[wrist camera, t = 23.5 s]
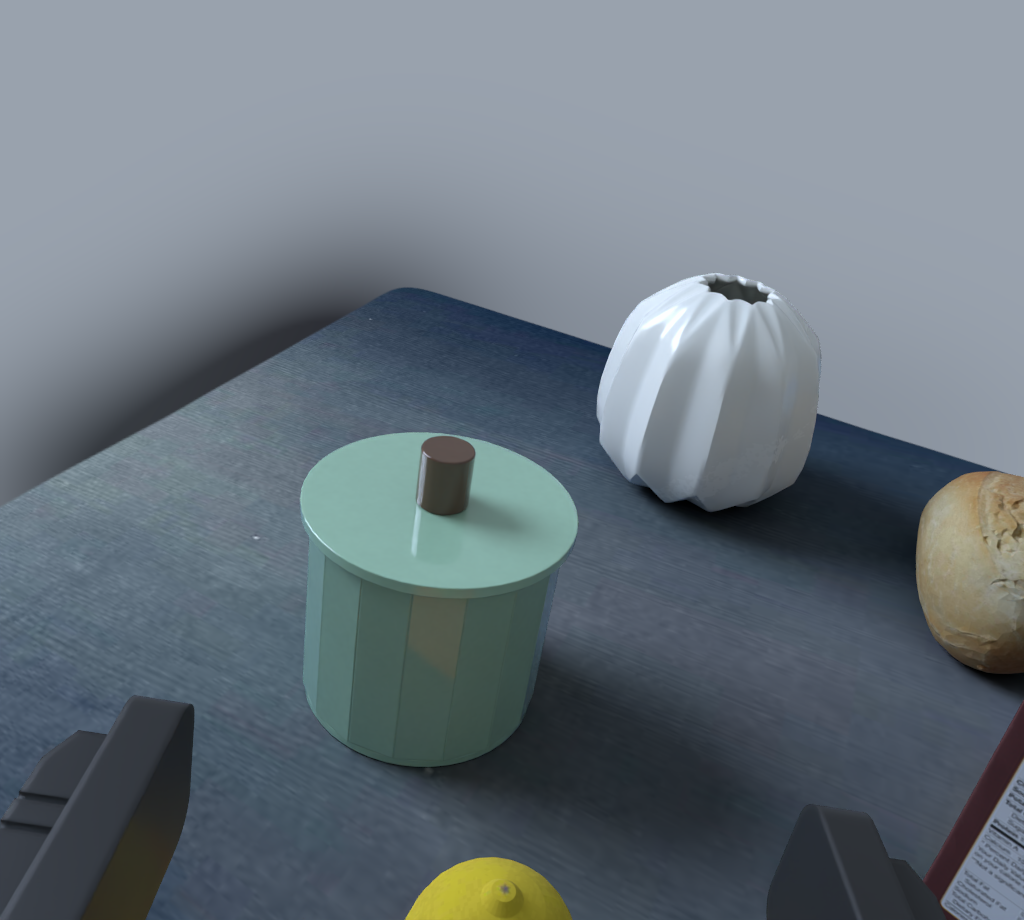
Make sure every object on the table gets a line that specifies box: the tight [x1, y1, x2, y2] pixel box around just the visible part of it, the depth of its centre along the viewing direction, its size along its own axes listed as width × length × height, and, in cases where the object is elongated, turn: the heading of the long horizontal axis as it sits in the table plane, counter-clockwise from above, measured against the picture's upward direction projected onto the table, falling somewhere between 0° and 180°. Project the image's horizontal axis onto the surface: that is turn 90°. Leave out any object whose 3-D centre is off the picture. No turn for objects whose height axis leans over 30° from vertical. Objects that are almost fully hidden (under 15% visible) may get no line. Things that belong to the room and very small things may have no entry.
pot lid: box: [300, 432, 579, 599], centre depth 39 cm, size 11×11×4 cm
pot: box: [303, 537, 560, 767], centre depth 42 cm, size 10×10×9 cm
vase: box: [597, 273, 821, 512], centre depth 61 cm, size 14×14×13 cm
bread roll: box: [916, 471, 1024, 674], centre depth 54 cm, size 10×15×8 cm, turn 159°
